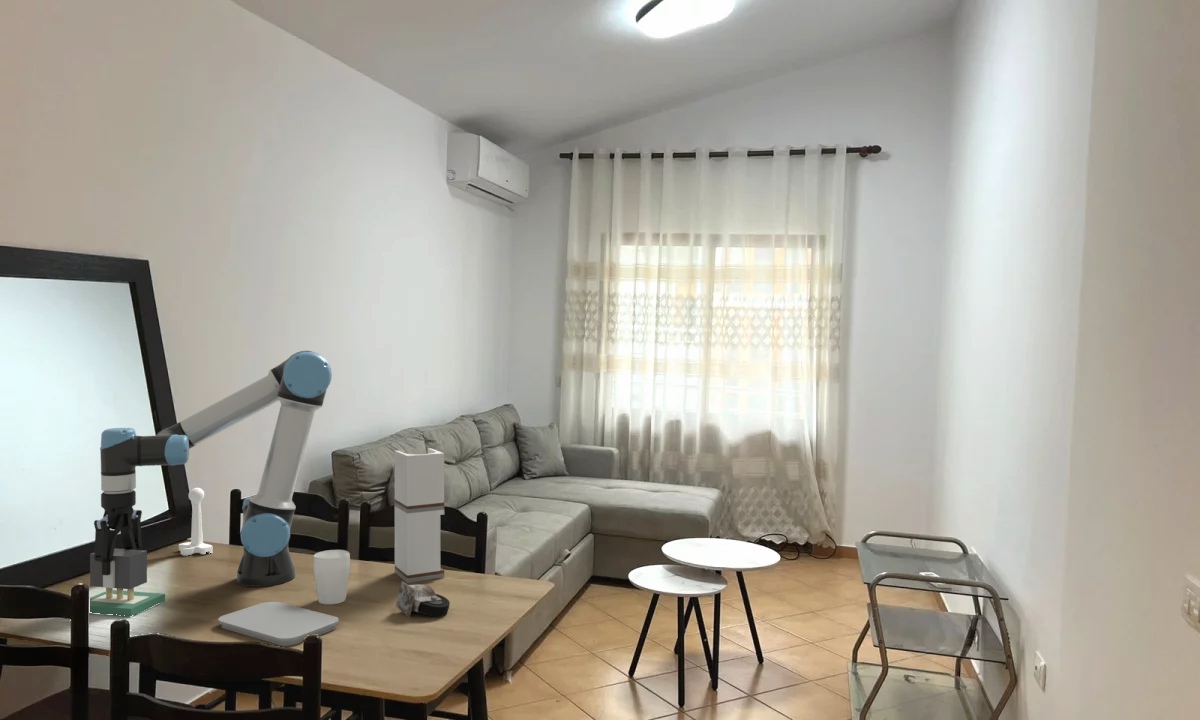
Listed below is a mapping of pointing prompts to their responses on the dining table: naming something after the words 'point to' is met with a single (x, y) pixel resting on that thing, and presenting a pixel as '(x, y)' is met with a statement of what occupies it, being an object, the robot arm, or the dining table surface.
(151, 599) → the board
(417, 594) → the caster wheel
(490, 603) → the dining table surface
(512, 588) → the dining table surface
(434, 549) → the white striped vase
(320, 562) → the cup
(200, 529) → the joystick
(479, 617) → the dining table surface
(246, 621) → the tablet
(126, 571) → the block
